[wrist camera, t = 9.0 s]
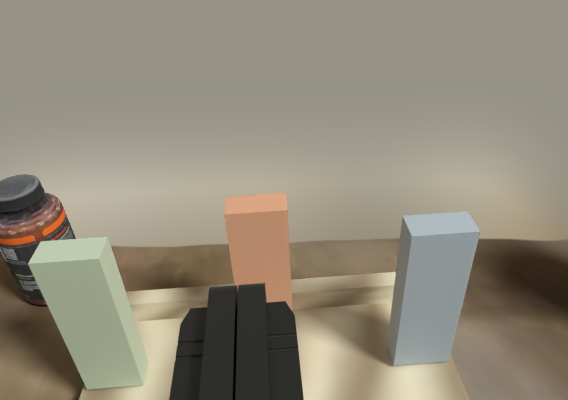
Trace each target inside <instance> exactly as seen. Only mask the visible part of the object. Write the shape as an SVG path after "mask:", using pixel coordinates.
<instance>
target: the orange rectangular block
mask: <svg viewBox="0 0 568 400" xmlns="http://www.w3.org/2000/svg"><path fill="white" fill-rule="evenodd" d="M287 211H288V210H287V202H286V193H275V194H261V195H247V196H231V197H226V203H225V221H226V228H227V235H228V242H229V249H230V256H231V263H232V270H233V277H234V284H235V285H237V289H238V285H243V284H257V283H265V288H266V299H267V302H281V301H286V303H287V304H288V306H289V307H290V309H291V310H292V292H291V272H290V251H289V233H288V212H287Z"/></svg>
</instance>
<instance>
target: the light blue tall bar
mask: <svg viewBox="0 0 568 400" xmlns="http://www.w3.org/2000/svg"><path fill="white" fill-rule="evenodd" d="M479 235H480V230H479V229H478V227H477V226H476V224H475V223H474V221H473V220H472V218H471V216H470V215H469V213H468V212H467V211H466V212H451V213H438V214H423V215H409V216H403V218H402V226H401V235H400V243H399V251H398V259H397V267H396V275H395V283H394V291H393V300H392V308H391V316H390V324H389V332H388V340H387V344H388V348H389V351H390V355H391V358H392V362H393V365H394V366H397V365H410V364H423V363H436V362H449V357H450V353H451V349H452V345H453V341H454V337H455V333H456V329H457V325H458V321H459V316H460V312H461V308H462V304H463V300H464V296H465V292H466V288H467V284H468V280H469V275H470V271H471V267H472V263H473V259H474V255H475V251H476V247H477V243H478V239H479Z"/></svg>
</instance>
